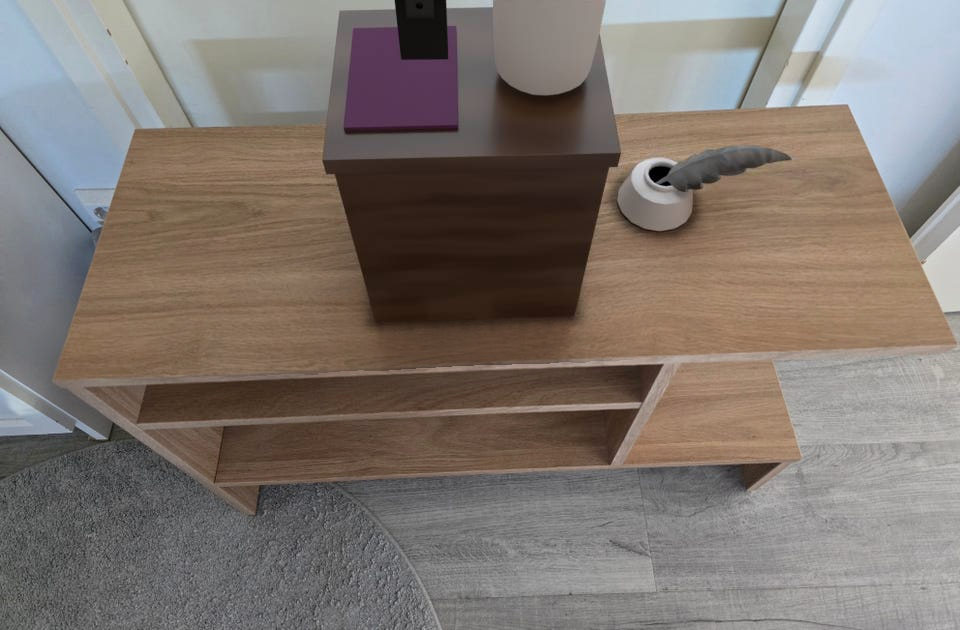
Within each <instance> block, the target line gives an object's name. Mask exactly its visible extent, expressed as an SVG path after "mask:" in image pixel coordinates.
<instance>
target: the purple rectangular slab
mask: <svg viewBox="0 0 960 630" xmlns="http://www.w3.org/2000/svg"><path fill="white" fill-rule="evenodd" d="M447 30H448V59H443V60H401V54H400V45H399V36H398V27H378V28H353V36H352V46H351V56H350V66H349V76H348V86H347V97H346V107H345V117H344V127H343V128H344V131H370V130H412V129H454V128H458V85H457V31H456V26H447Z"/></svg>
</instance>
